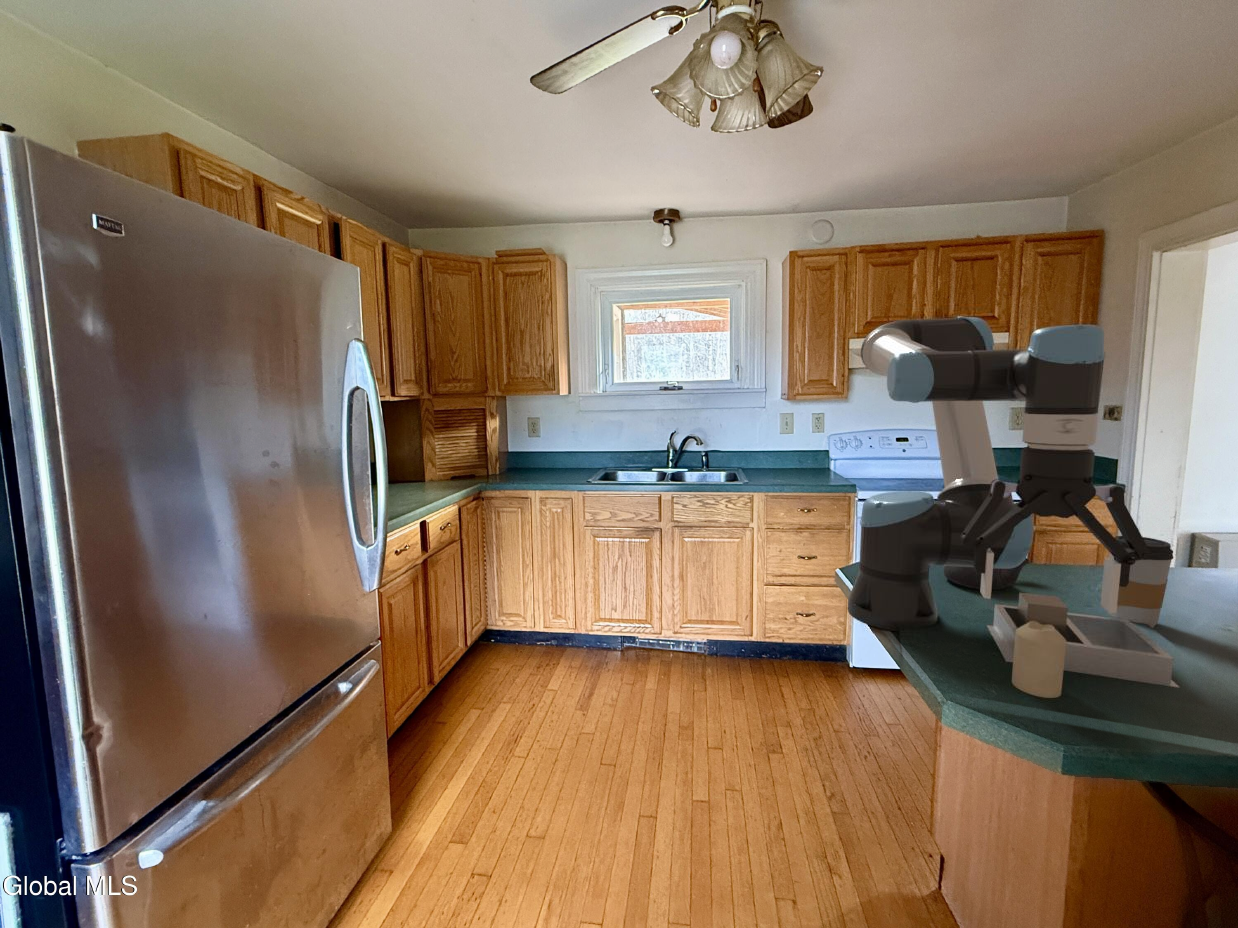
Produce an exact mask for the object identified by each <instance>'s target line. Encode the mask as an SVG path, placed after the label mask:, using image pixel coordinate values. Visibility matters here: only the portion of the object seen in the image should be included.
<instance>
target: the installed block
mask: <svg viewBox="0 0 1238 928" xmlns="http://www.w3.org/2000/svg"><path fill="white" fill-rule="evenodd" d="M1017 605H1018V606H1017V607H1018V615H1017V628H1019V627H1021V626H1023V625H1025V624H1027V623H1028V622H1030V621H1036V622H1038V623H1040V624H1042V625H1052V626H1053V627H1054V628H1055V629H1056V630H1057V631H1058V632H1059V633H1060V634H1061V635H1062V636H1063V637H1064V638H1065V633H1066V623H1067V613H1069V608H1068V607H1067V606H1066V605H1065V603H1064V602H1063V601H1062V600H1061V599H1060V598H1059V597H1058V596H1054V595H1046V594H1045V595H1044V594H1037V593H1036V594H1035V593H1027V592H1019V593H1018V603H1017Z"/></svg>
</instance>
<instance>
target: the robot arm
mask: <svg viewBox="0 0 1238 928" xmlns="http://www.w3.org/2000/svg"><path fill="white" fill-rule="evenodd" d="M994 339H995V338H994V335H993V332H992V329H991V328H990V326H989V324H988V323H987V322H986V320H984V319H982V318H980V317H977V316H975V317H974V316H972V317H970V316H960V315H958V316H955V317H951V318H949V317H948V318H947V317H945V318H942V317H941V318H916V319H915V318H914V319H910V318H908V319H899V320H894V321H890V322H888V323H885V324H882V325H880V326H878V327H877V328H875V329H873V330H872V331H871V332H870V333H869V334H867V336H866V337H865V338H864V340H863V342H862V343H861V348H860V357H861V361H862V363H863V365H864V366H865V367H866V368H867V369H868V370H869V371H870V372H872V373H873V374H876V375H879V376H886V388H887V391H888V396H889V397H890V399H891V400H893V401H895V402H908V403H913V404H916V403H922V402H923V403H924V402H925V403H927V402H928V403H930V402H931V403H932V411H933V418H934V422H935V423H934V424H935V430H936V438H937V443H938V444H937V445H938V450H939V456H940V457H939V458H940V462H941V463H940V465H941V470H942V478H943V485H944V488H943V489H942V490H941V491H940V492H939V493H938V494H937V497H936V498H937V499H936V500H935V498H934V496H933V495H932V494H931V493H929V492H926V491H925V492H924V491H912V490H902V491H901V490H900V491H898V490H897V491H890V492H889V491H888V492H883V493H878V494H875V495H871V496H869V497H868V498H866V499H865V500H864V501H863V504H862V509H861V517H860V521H859V524H860V543H859V544H860V547H859V548H860V549H859V566H858V567H859V569H858V574H857V576H856V579H855V581H854V584H853V585H852V588H851V591H850V593H849V596H848V599H847V612H848V614H849V615H850V617H852V618H853V619H855V620H856V621H858V622H861V623H862V624H865V625H868V626H870V627H873V628H878V629H880V630H881V629H882V630H886V631H890V632H891V631H892V632H900V630H899V628H900V629H920V628H927V627H930V626H933V625H934V624H936V623H937V621H938V615H939V614H938V613H939V611H938V608H937V604H936V601H935V597H934V595H933V591H932V587H931V584H930V580H929V579H930V568H931V566H940V567H941V566H944V567H945V566H958V567H974V569H975V571H976V572H977V573H982V574H981V589H979V590H980V591H979V592H980V594H981V596H983V599H987V600H991V599H992V598H991V597H992V589H991V588H992V574H993V568H1000V569H1010V568H1015V567H1017V566H1019V565H1020V564H1021V563H1022V562H1023V561H1024V560H1025V558H1028V555H1029V552H1030V550H1031V547H1032V543H1033V538H1034V528H1035V527H1034V518H1033V514H1034V515H1036V516H1038V517H1041V518H1043V517H1044V518H1045V517H1046V518H1049V517H1056V518H1061V519H1069V518H1071V517H1074V516H1075V517H1076V518H1077V519H1078V520H1079V521H1080V522H1081V523H1082V525H1084V526H1085V527H1086V528H1087V530H1088V531H1089V532H1090V533H1091V534H1092V535H1093V536H1094V537H1095V538H1096V539H1097V540H1098V541H1099V542H1100V544H1102V546H1103V547H1104V548H1105V549H1106V551H1108V552H1109V554H1110V553H1111V554H1112V555H1113V556H1114V559H1112V558H1110V557H1104V564H1103V573H1102V584H1101V596H1100V604H1099V605H1100V607H1102V608H1103V609H1104V610H1106V611H1107V612H1108V613H1109V612H1110V613H1116V611H1117V601H1118V591H1119V586H1120V587H1126V586H1127V585H1128V583H1129V573H1130V565H1133V564H1134V563H1135V562H1136V561H1137V560H1142V559H1143V560H1149V559H1150V558H1151V557H1152V554H1151V552H1150V550H1149V549H1148V547H1147V545H1146V543H1145V541H1144V539H1143V537H1144V536H1142V534H1141V531H1140V529H1139V528H1138V527H1137V525H1136V523H1135V520H1134V518H1133V516H1132V515H1131V513H1130V511H1129V510H1128V509H1129V508H1127V506H1126V503H1125V502H1126V501H1125V489H1124V488H1123V487H1121V486H1119V485H1115V484H1114V483H1107V484H1105V485H1099V486H1094V483H1093V476H1094V466H1095V465H1094V464H1095V457H1096V456H1095V452H1094V450H1093V449H1091V448H1090V446H1094V445H1095V444H1096V442H1097V441H1096V440H1097V429H1098V428H1097V427H1098V417H1099V414H1098V413H1099V406H1100V397H1101V390H1102V389H1101V388H1102V381H1103V371H1104V370H1103V369H1104V363H1105V359H1106V352H1105V331H1104V329H1103V327H1101V326H1099V325H1096V324H1070V325H1055V326H1048V327H1042V328H1038V329H1036V330H1035V331H1033V332H1032V333H1031V336H1030V341H1029V344H1028V347H1027V348H1020V349H1017V348H1015V349H1012V348H1011V349H994V346H995V341H994ZM984 402H1025V405H1024V415H1023V416H1024V420H1023V429H1022V431H1023V432H1022V442H1023V443H1024V444H1027V445H1026V446H1024V447H1023V449H1021V455H1020V469H1019V470H1020V471H1019V477H1018V480H1017V482H1015V483H1014V482H1007V481H1002V480H1001V479H999V476H998V471H997V467H996V460H995V456H994V450H993V445H992V441H991V435H990V430H989V425H988V421H987V420H988V419H987V416H986V415H987V414H986V410H985V405H984ZM1014 492H1015V493H1016V495H1017V496H1018V497H1019V499H1020V500H1019V501H1018V502H1014V499H1013V495H1012V493H1014ZM1095 496H1097V497H1098V499H1099V500H1100V501H1101V502H1102V503H1104V504H1105V505H1106V508H1107V510H1108V512H1109V513H1110V515H1111V518H1112V519H1113V522H1115V524H1116V526H1117V529H1118V530H1119V533H1120V534H1121V536H1123V538H1124V540H1125V542H1126V544H1127V545H1128V547H1129V549H1124V548H1123V547H1122V546H1121V545H1120V543H1119V542H1118V541H1117V540H1116V539H1115V538H1114V537H1115V536H1113V535H1112V534H1111V533H1110V532H1109V531H1108V530H1107V528H1106V527H1105V526H1104V525H1103V524H1102V523H1101V522H1100V521H1099V520H1098V519H1097V517H1096V516H1095V515H1094V514H1093V512H1091V511H1090V509H1089V508H1087V504H1089V503H1090V501H1092V500H1093V499H1094V498H1095Z"/></svg>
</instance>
